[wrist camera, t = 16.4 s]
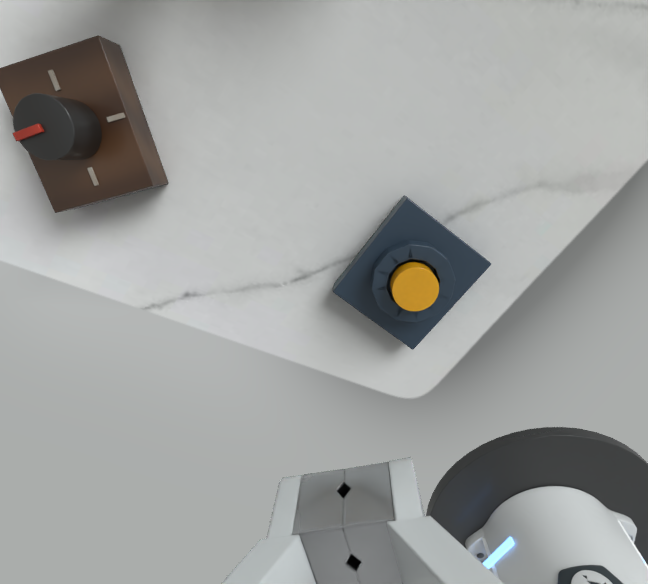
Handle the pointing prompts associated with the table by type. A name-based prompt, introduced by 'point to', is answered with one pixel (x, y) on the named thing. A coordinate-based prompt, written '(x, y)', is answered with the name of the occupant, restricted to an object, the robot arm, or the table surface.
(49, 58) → the dial panel
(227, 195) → the table surface
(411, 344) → the button housing
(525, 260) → the table surface
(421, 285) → the trigger button
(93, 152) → the dial
